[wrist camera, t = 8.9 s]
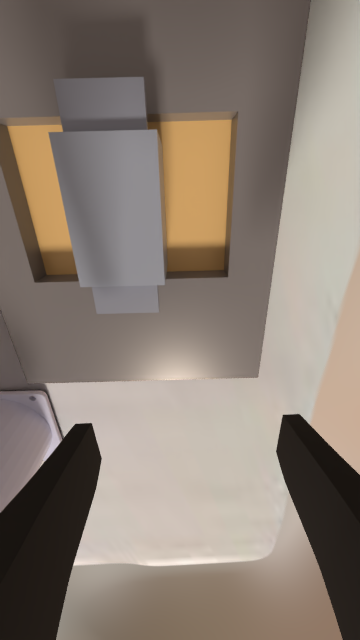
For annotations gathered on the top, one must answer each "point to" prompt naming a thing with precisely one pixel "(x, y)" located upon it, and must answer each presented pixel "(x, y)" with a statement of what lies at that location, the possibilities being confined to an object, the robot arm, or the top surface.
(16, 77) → the plate
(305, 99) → the top surface
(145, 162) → the block
